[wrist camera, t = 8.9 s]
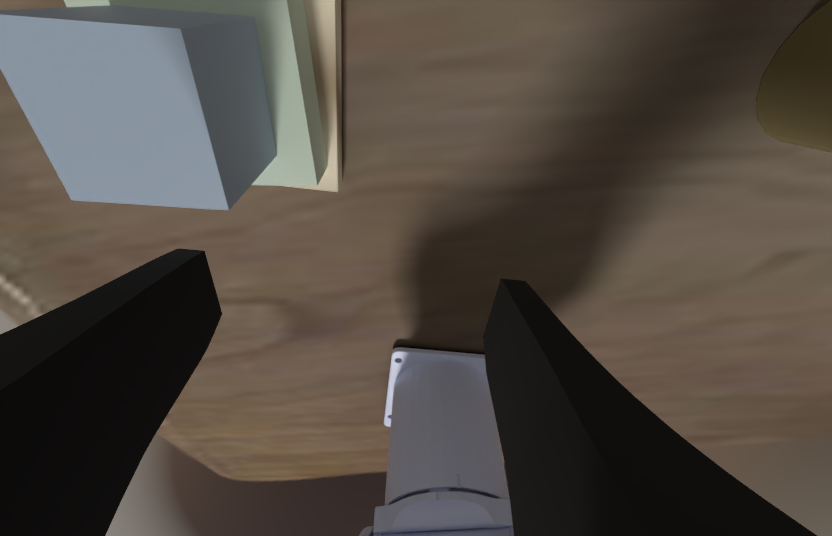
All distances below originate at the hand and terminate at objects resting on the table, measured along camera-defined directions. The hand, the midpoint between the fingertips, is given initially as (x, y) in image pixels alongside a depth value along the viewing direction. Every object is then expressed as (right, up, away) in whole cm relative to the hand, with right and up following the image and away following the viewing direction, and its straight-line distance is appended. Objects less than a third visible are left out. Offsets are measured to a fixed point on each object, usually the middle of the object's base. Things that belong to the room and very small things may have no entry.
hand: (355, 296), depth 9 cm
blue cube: (-6, +7, +4) cm, 10 cm away
